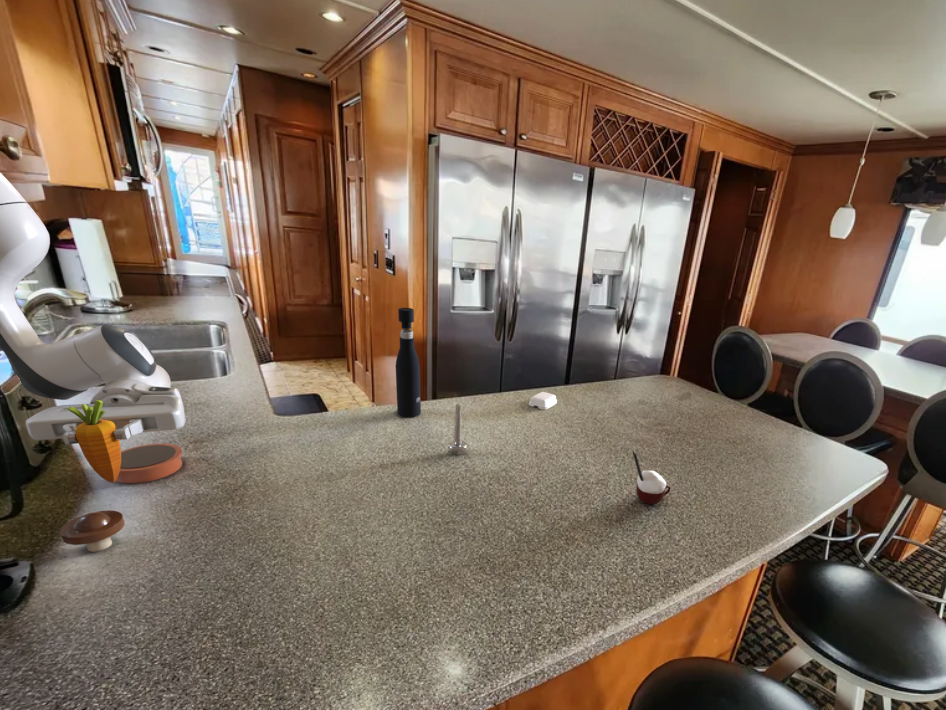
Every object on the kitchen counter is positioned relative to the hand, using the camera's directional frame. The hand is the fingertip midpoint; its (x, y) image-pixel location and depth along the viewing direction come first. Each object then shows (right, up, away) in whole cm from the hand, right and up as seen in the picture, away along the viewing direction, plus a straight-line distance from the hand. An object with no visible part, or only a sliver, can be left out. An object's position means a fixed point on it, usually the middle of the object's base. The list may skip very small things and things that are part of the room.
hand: (95, 437), depth 75 cm
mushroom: (+3, -17, -2) cm, 17 cm away
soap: (+71, +7, +75) cm, 103 cm away
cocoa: (+95, -15, +27) cm, 100 cm away
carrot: (-1, -8, +4) cm, 9 cm away
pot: (-8, -7, +19) cm, 22 cm away
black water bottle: (+33, +4, +58) cm, 66 cm away
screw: (+51, -6, +39) cm, 64 cm away
